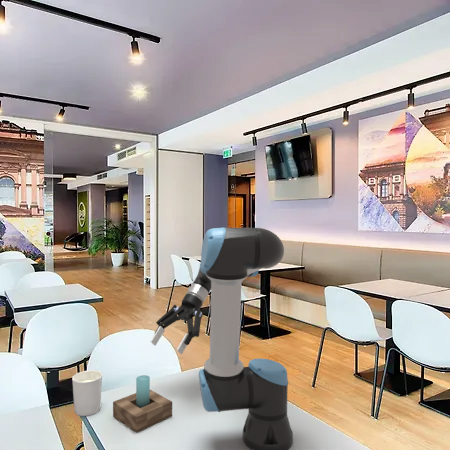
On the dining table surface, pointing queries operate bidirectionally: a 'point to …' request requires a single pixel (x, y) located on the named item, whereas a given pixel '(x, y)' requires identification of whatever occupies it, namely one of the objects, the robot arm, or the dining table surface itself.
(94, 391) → the candle holder
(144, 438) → the dining table surface
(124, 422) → the walnut block
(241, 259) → the robot arm
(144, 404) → the teal peg
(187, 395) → the dining table surface
